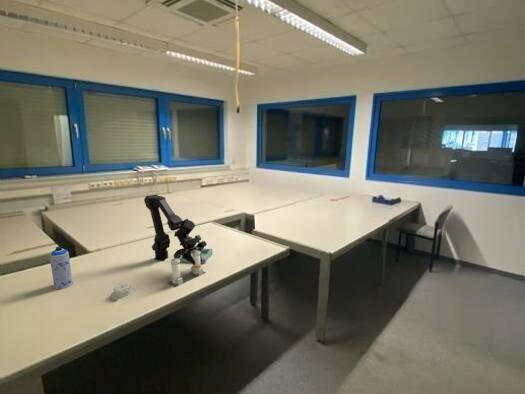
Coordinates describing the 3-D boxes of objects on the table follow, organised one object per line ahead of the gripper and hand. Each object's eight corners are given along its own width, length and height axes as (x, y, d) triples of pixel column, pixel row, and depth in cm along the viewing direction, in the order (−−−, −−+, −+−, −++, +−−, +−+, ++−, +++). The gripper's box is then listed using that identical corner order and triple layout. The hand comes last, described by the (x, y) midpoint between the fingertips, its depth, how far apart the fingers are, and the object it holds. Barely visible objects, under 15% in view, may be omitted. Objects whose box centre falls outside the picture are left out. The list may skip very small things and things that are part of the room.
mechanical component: (129, 301, 127) (138, 289, 137) (128, 292, 126) (137, 281, 136) (107, 301, 127) (117, 289, 137) (106, 292, 126) (116, 281, 136)
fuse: (170, 284, 140) (169, 261, 138) (174, 280, 144) (173, 258, 142) (179, 284, 140) (178, 262, 137) (182, 280, 144) (181, 258, 141)
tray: (175, 263, 165) (174, 257, 165) (184, 252, 181) (184, 247, 180) (205, 265, 164) (205, 259, 163) (212, 254, 180) (212, 248, 179)
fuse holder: (166, 284, 142) (166, 277, 141) (197, 270, 157) (197, 263, 156) (175, 289, 137) (174, 281, 137) (206, 274, 153) (206, 267, 152)
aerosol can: (66, 279, 145) (61, 243, 141) (76, 282, 142) (71, 245, 138) (50, 287, 138) (44, 248, 133) (60, 290, 135) (55, 251, 131)
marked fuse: (191, 274, 150) (191, 253, 148) (194, 270, 154) (193, 250, 152) (199, 275, 150) (198, 253, 147) (201, 271, 154) (201, 250, 152)
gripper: (175, 235, 143) (190, 262, 138) (204, 227, 157) (218, 250, 153) (167, 246, 149) (181, 272, 145) (195, 237, 163) (208, 260, 159)
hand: (198, 263), depth 150 cm, fingers closed on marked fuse, 4 cm apart
